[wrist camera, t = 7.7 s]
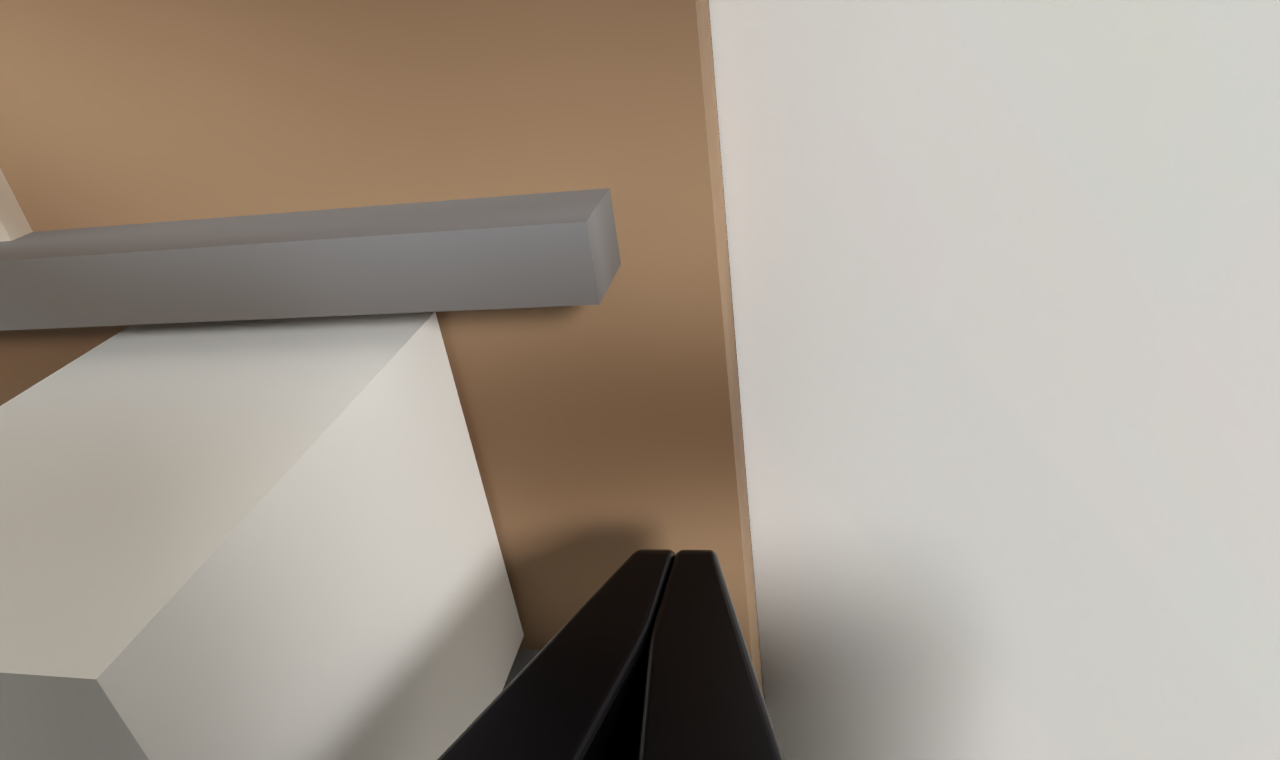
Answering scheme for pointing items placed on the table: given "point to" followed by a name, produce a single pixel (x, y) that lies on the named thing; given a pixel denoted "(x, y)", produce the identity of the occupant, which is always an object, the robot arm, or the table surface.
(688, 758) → the robot arm
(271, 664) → the ivory matte cube
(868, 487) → the table surface
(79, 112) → the base
